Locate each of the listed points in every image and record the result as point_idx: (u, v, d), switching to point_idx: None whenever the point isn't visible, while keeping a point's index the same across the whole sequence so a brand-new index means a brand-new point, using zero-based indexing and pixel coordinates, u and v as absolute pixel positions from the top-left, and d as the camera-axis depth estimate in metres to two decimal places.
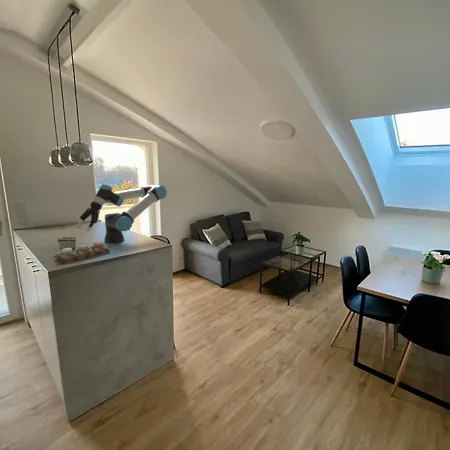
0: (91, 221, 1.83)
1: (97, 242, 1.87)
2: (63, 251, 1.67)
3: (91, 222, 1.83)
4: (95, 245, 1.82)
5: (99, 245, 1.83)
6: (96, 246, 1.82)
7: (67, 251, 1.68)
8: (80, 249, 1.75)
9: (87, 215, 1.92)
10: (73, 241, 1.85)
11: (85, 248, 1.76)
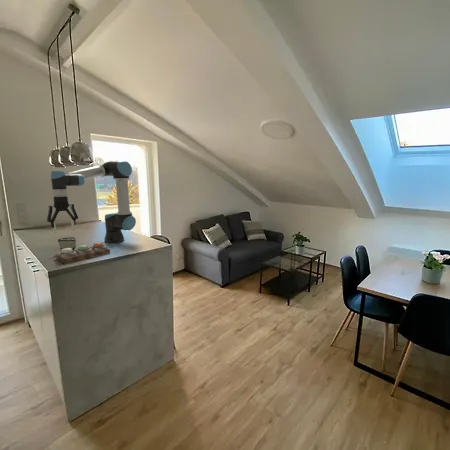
0: (75, 219, 1.70)
1: (97, 242, 1.87)
2: (63, 251, 1.67)
3: None
4: (95, 245, 1.82)
5: (99, 245, 1.83)
6: (96, 246, 1.82)
7: (67, 251, 1.68)
8: (80, 249, 1.75)
9: None
10: (73, 241, 1.85)
11: (85, 248, 1.76)
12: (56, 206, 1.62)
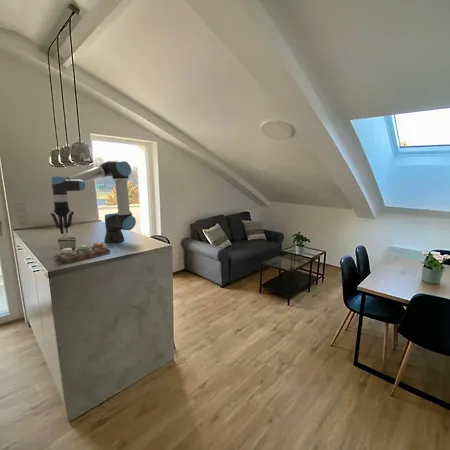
0: (67, 228, 1.67)
1: (97, 242, 1.87)
2: (63, 251, 1.67)
3: (65, 227, 1.67)
4: (95, 245, 1.82)
5: (99, 245, 1.83)
6: (96, 246, 1.82)
7: (67, 251, 1.68)
8: (80, 249, 1.75)
9: None
10: (73, 241, 1.85)
11: (85, 248, 1.76)
12: (57, 211, 1.62)
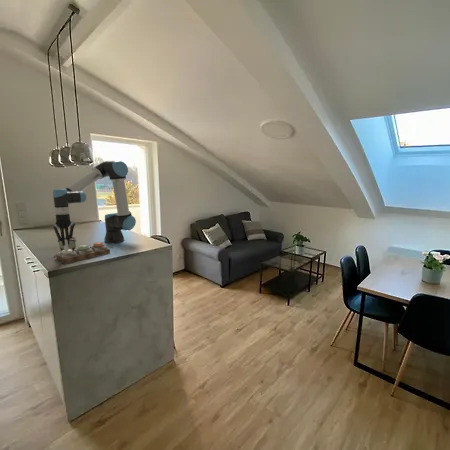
0: (69, 239, 1.69)
1: (97, 242, 1.87)
2: (63, 252, 1.67)
3: (66, 239, 1.69)
4: (95, 245, 1.82)
5: (99, 245, 1.83)
6: (96, 246, 1.82)
7: (67, 252, 1.68)
8: (80, 249, 1.75)
9: None
10: (73, 241, 1.85)
11: (85, 248, 1.76)
12: (58, 224, 1.64)
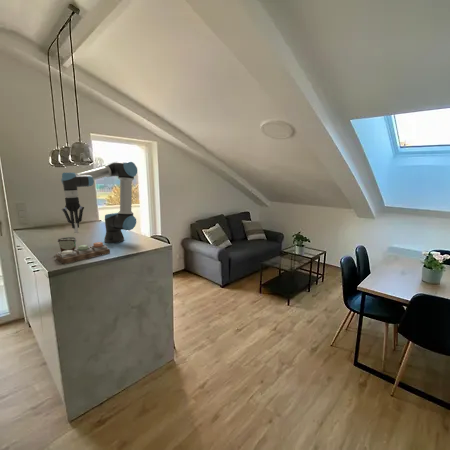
0: (78, 222, 1.72)
1: (97, 242, 1.87)
2: (63, 253, 1.67)
3: (76, 222, 1.72)
4: (95, 245, 1.82)
5: (99, 245, 1.83)
6: (96, 246, 1.82)
7: (67, 253, 1.68)
8: (80, 249, 1.75)
9: None
10: (73, 241, 1.85)
11: (85, 248, 1.76)
12: (68, 207, 1.67)
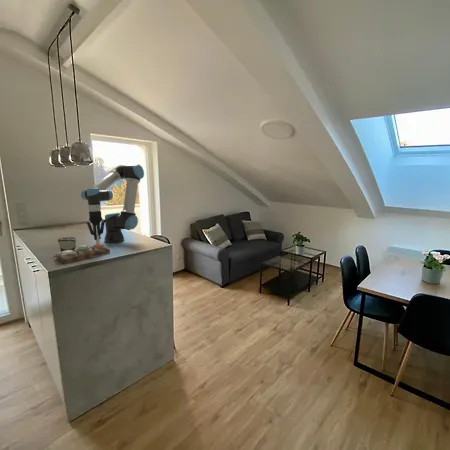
0: (100, 234, 1.84)
1: None
2: (63, 253, 1.67)
3: (98, 234, 1.84)
4: (95, 246, 1.82)
5: (99, 246, 1.83)
6: (96, 247, 1.82)
7: (67, 253, 1.68)
8: (80, 249, 1.75)
9: None
10: (73, 241, 1.85)
11: (85, 248, 1.76)
12: (91, 220, 1.79)
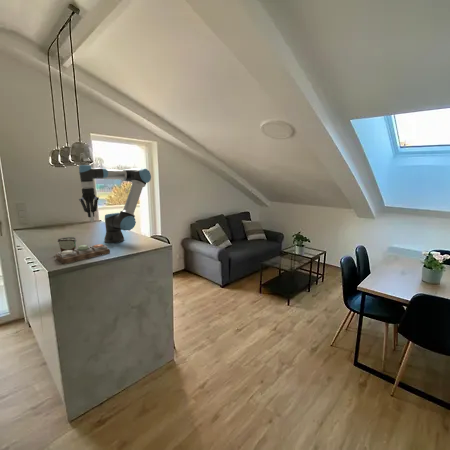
0: None
1: (97, 244, 1.87)
2: (63, 253, 1.67)
3: (92, 212, 1.85)
4: (95, 247, 1.82)
5: None
6: None
7: (67, 253, 1.68)
8: (80, 249, 1.75)
9: None
10: (73, 241, 1.85)
11: (85, 248, 1.76)
12: (85, 197, 1.79)
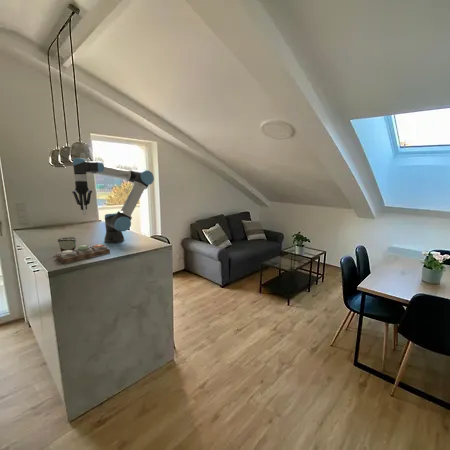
0: (86, 204, 1.87)
1: (97, 244, 1.87)
2: (63, 253, 1.67)
3: (84, 204, 1.87)
4: (95, 247, 1.82)
5: None
6: None
7: (67, 253, 1.68)
8: (80, 249, 1.75)
9: None
10: (73, 241, 1.85)
11: (85, 248, 1.76)
12: (78, 189, 1.82)
